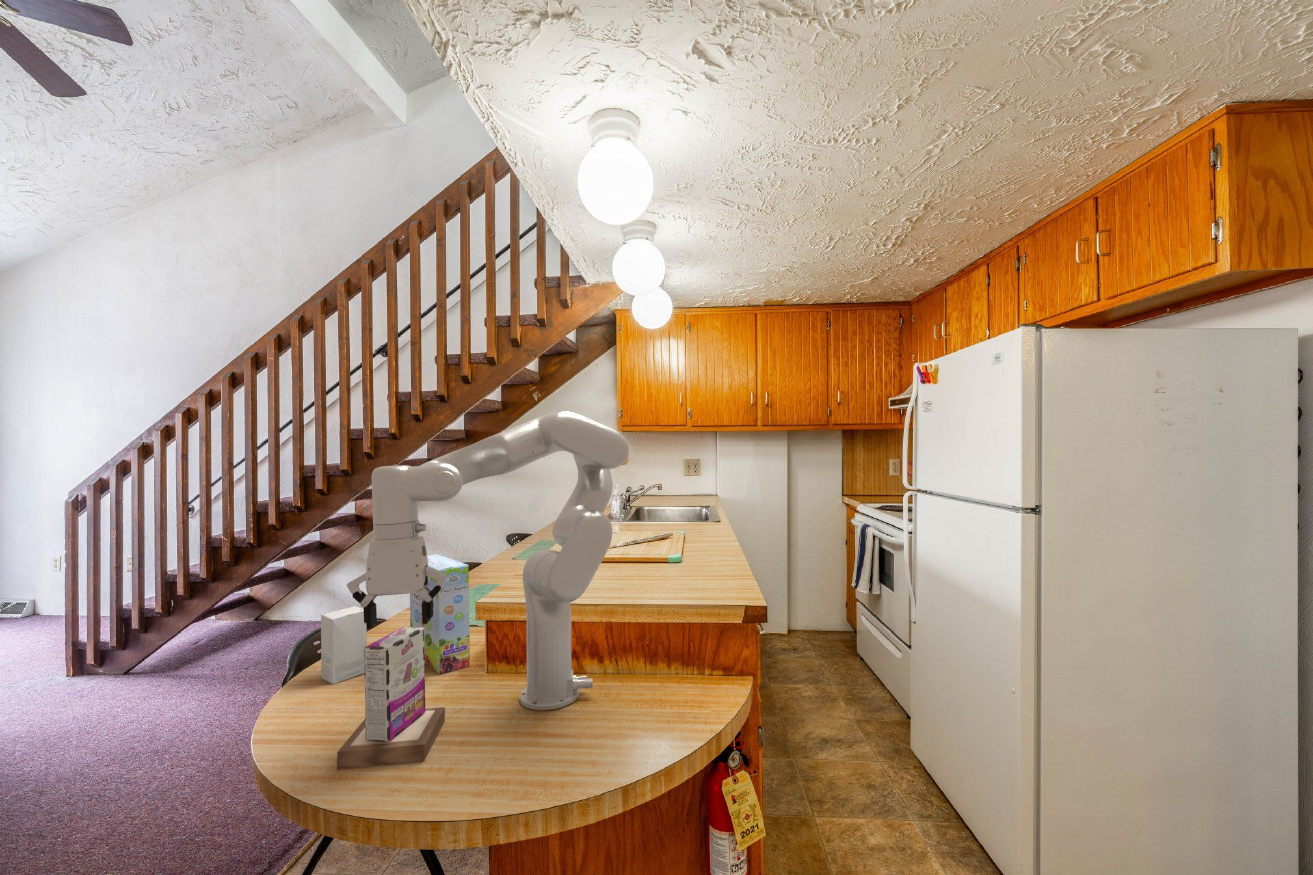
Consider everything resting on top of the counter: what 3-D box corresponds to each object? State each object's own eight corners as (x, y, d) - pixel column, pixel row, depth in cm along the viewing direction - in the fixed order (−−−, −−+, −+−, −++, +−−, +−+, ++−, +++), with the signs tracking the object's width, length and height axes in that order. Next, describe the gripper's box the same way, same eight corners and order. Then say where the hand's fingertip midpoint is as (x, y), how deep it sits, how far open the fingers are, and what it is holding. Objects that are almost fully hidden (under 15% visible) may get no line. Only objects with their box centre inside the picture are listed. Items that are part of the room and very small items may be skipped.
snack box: (406, 653, 144) (406, 557, 145) (439, 645, 150) (439, 553, 151) (437, 676, 128) (436, 568, 129) (472, 666, 134) (471, 563, 135)
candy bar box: (402, 711, 104) (402, 625, 104) (426, 712, 103) (426, 626, 104) (362, 741, 93) (362, 645, 93) (388, 743, 92) (388, 646, 93)
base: (444, 721, 106) (444, 705, 106) (424, 760, 92) (424, 743, 92) (369, 727, 104) (369, 711, 104) (337, 768, 90) (337, 750, 90)
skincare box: (355, 667, 134) (356, 605, 135) (368, 673, 130) (368, 609, 131) (319, 679, 128) (319, 613, 128) (331, 685, 124) (332, 617, 124)
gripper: (449, 526, 104) (452, 613, 104) (355, 531, 102) (357, 622, 101) (439, 531, 97) (443, 626, 96) (337, 538, 94) (340, 635, 94)
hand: (399, 624), depth 99 cm, fingers open, 9 cm apart
